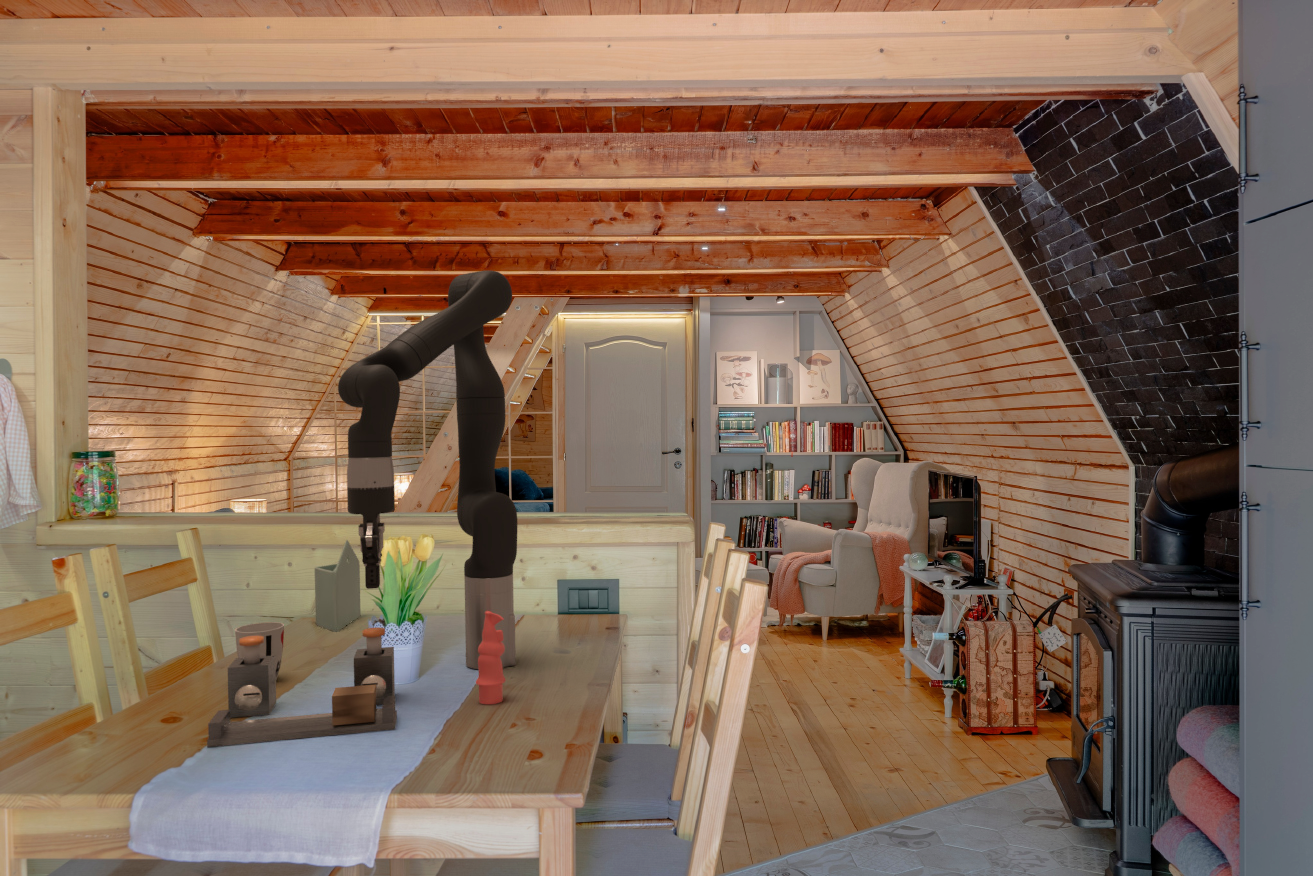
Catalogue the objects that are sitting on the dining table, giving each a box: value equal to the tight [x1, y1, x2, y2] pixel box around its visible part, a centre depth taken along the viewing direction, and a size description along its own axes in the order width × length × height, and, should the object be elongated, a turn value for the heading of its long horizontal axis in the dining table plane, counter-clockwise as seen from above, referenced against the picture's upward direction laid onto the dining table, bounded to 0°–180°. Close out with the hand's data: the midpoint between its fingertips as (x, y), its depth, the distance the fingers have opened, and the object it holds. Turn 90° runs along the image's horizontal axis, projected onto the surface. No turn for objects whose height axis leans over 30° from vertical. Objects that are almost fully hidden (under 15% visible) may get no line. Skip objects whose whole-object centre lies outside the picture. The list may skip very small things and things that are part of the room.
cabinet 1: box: [227, 655, 277, 719], centre depth 141 cm, size 6×6×8 cm
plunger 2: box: [362, 626, 386, 655], centre depth 146 cm, size 4×4×4 cm
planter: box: [314, 539, 361, 633], centre depth 204 cm, size 16×8×20 cm, turn 1°
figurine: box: [475, 611, 506, 705], centre depth 145 cm, size 5×5×15 cm
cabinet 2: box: [353, 646, 396, 706], centre depth 146 cm, size 6×6×8 cm
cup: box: [234, 621, 285, 681], centre depth 158 cm, size 8×8×10 cm
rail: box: [206, 694, 398, 748], centre depth 131 cm, size 26×6×3 cm, turn 104°
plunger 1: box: [239, 636, 264, 664], centre depth 142 cm, size 4×4×4 cm
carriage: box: [331, 685, 378, 725], centre depth 133 cm, size 6×4×4 cm
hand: (372, 587), depth 146 cm, fingers closed
